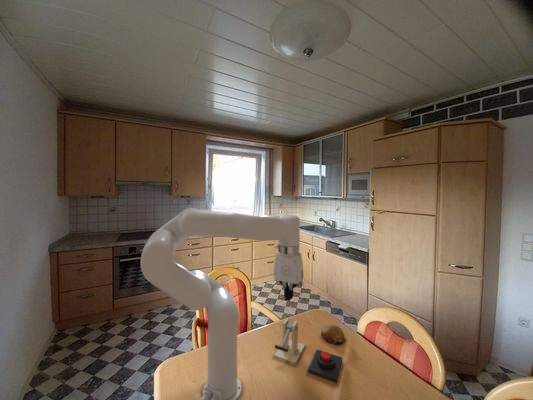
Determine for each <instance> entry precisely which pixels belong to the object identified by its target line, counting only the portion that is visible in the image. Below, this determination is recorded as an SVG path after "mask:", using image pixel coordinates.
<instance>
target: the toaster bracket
mask: <svg viewBox="0 0 533 400" xmlns="http://www.w3.org/2000/svg"><path fill="white" fill-rule="evenodd" d="M289 321H290V319H289V318H288V317H287V318H285V320H284V321H283V322H282V340H283V339H284V336H285V334H286V331H287V327H286V326H287V324H288V322H289ZM293 322H294V324H293V325H292V332H291V339H290V335H289V336H288V338H287V341H286V343H285V346H284V348H287V349H288V352H285V351H282V350H279V349H276V350H277V351H276V352H275V353H274V355H273V356H274V357H275V358H278V359H281V360H284V361H287V362H289V363H293V364H296V363H297V361H298V360H299V358H300V356H301V354H302V352H303V351H304V348H305V347H306V344H305V343H301V342H299V321H298V320H295V321H293Z"/></svg>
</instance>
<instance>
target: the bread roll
mask: <svg viewBox="0 0 533 400" xmlns="http://www.w3.org/2000/svg"><path fill="white" fill-rule="evenodd" d="M320 334H321V337H322V339H323V340H324V341H325V343H327V344H329V345H334V346H335V345H337V346H339V345H340V344H342V343H343V342H344V341H345V334H344V330H343V329H342V328H341V327H340V326H339V325H337V324H334V323H329V324H325V325H324V326H323V327H322V329H321V333H320Z"/></svg>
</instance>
